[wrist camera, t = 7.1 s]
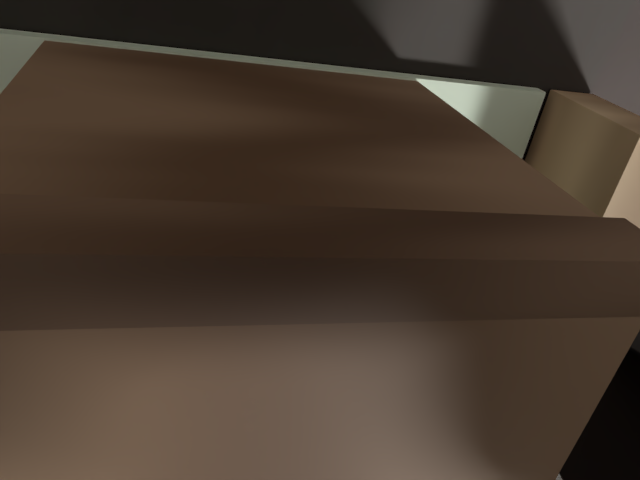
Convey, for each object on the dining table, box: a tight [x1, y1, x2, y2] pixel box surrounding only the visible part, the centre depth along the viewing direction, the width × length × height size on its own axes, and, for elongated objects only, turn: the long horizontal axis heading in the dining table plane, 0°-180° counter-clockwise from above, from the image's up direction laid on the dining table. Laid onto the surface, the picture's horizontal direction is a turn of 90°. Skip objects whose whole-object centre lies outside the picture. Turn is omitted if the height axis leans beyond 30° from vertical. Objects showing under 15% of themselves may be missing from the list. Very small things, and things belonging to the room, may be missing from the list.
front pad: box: [0, 28, 546, 159], centre depth 11 cm, size 11×6×1 cm, turn 81°
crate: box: [0, 40, 640, 480], centre depth 8 cm, size 6×6×6 cm
